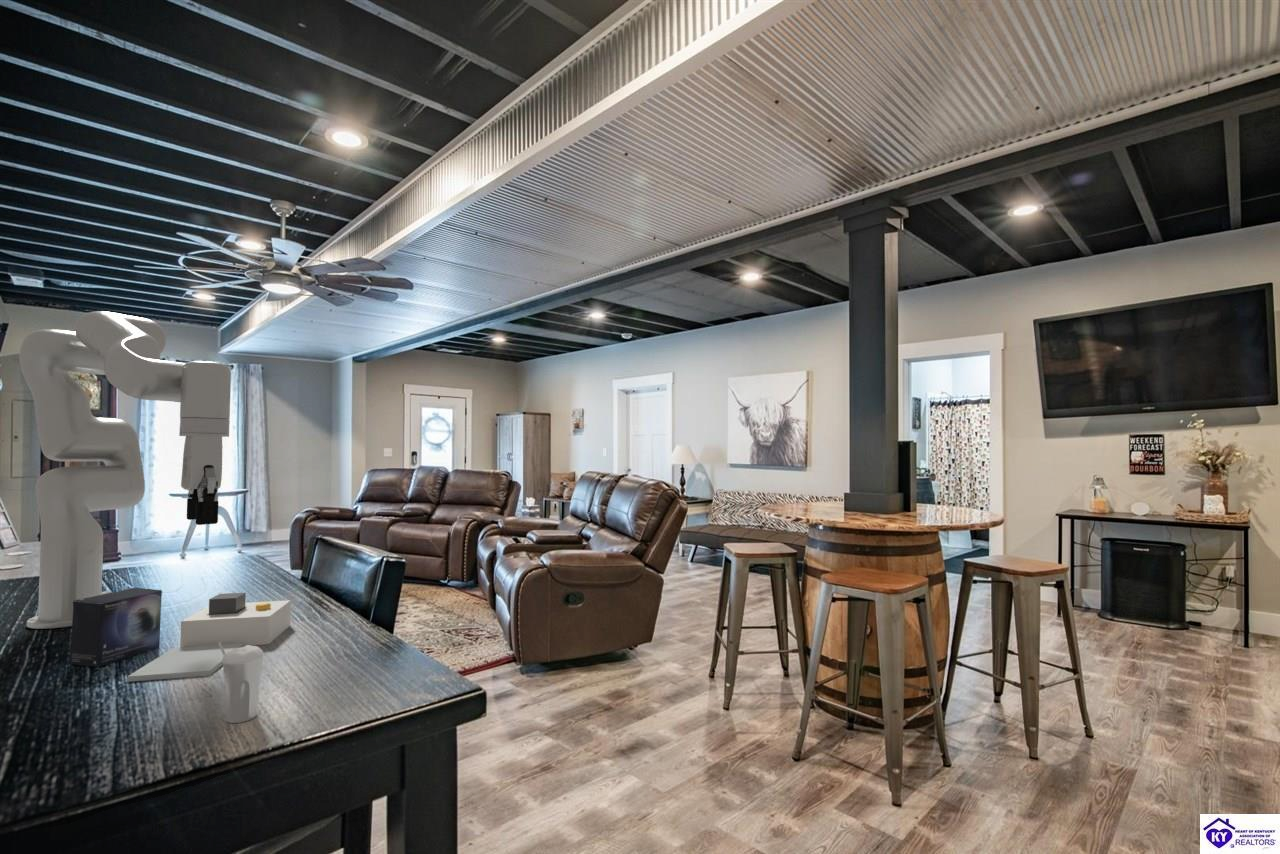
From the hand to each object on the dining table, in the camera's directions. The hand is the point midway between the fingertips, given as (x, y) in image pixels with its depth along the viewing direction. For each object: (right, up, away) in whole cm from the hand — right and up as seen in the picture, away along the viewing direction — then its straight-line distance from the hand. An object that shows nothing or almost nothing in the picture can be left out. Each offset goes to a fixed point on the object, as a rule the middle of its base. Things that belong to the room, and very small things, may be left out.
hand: (201, 521), depth 113 cm
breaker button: (+3, -20, +2) cm, 21 cm away
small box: (-9, -22, -8) cm, 25 cm away
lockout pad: (+7, -22, -12) cm, 25 cm away
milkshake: (+28, -21, -32) cm, 48 cm away
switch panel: (+5, -22, +2) cm, 23 cm away
